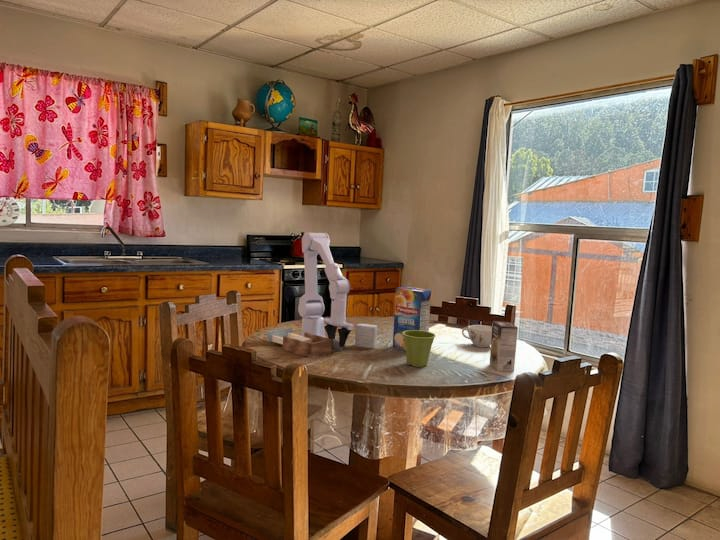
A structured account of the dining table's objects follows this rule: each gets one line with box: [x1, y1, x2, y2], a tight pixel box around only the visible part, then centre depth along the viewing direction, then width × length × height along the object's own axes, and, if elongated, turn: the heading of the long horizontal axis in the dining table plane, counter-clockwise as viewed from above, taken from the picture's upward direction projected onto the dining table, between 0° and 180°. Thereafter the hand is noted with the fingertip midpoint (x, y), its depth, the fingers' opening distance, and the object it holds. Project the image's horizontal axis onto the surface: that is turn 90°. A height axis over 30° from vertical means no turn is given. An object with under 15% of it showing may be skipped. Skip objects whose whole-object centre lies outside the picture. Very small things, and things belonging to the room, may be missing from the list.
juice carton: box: [392, 286, 432, 351], centre depth 218 cm, size 12×8×24 cm, turn 53°
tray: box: [266, 327, 313, 346], centre depth 214 cm, size 15×12×4 cm
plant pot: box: [403, 330, 437, 368], centre depth 196 cm, size 12×12×11 cm
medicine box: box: [354, 323, 379, 349], centre depth 219 cm, size 8×4×9 cm, turn 71°
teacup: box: [461, 324, 492, 349], centre depth 230 cm, size 15×12×8 cm
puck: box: [333, 338, 344, 352], centre depth 213 cm, size 5×5×4 cm
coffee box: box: [489, 320, 519, 372], centre depth 197 cm, size 9×6×16 cm
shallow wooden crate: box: [281, 332, 334, 358], centre depth 208 cm, size 16×12×5 cm
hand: (336, 345), depth 213 cm, fingers closed on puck, 5 cm apart
